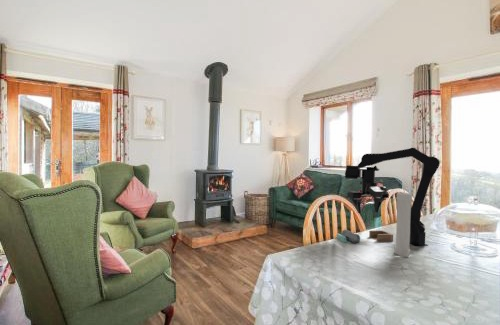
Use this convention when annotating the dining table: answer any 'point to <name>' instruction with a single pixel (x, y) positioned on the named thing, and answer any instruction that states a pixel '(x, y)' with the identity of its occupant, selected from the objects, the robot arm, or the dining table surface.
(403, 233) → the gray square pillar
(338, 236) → the cradle
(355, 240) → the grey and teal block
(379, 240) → the brown block
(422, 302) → the dining table surface
